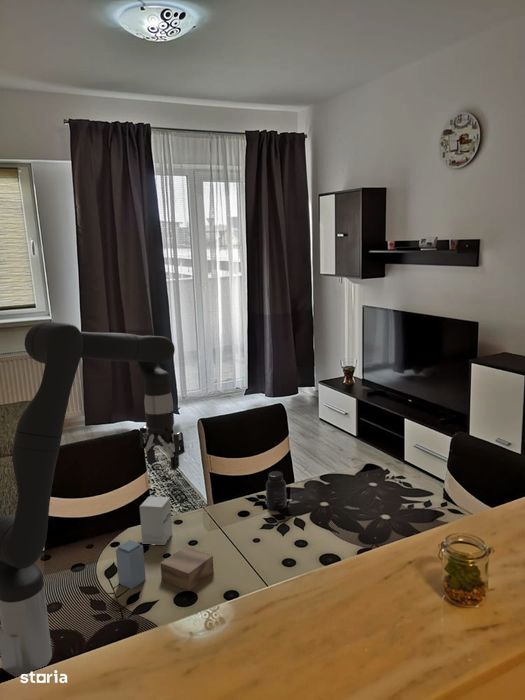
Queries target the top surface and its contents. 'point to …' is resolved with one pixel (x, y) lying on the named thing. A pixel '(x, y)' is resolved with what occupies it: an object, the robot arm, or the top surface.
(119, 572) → the pale blue upright prism
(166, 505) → the supplement box
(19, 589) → the robot arm
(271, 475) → the supplement bottle
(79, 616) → the top surface
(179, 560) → the walnut box
